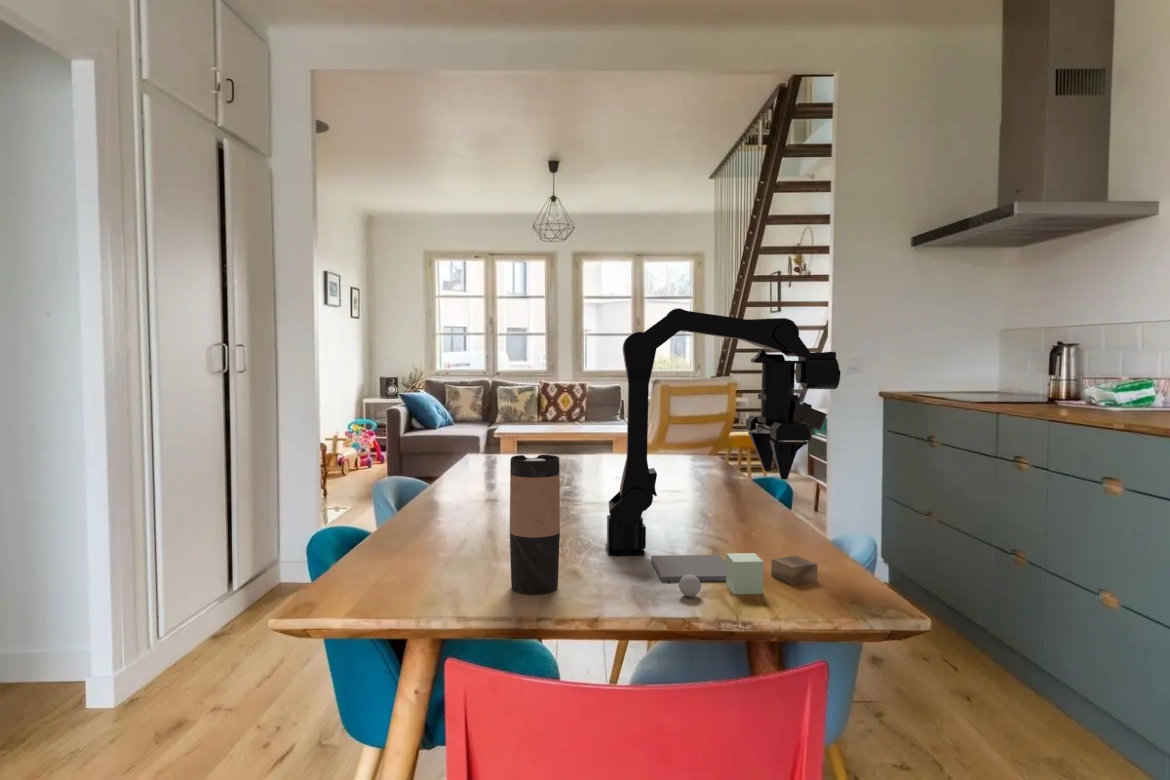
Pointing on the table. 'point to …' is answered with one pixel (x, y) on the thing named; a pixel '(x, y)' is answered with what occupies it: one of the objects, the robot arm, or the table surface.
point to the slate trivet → (690, 567)
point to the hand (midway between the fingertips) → (775, 474)
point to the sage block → (744, 573)
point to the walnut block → (794, 570)
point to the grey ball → (689, 585)
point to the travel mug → (534, 523)
